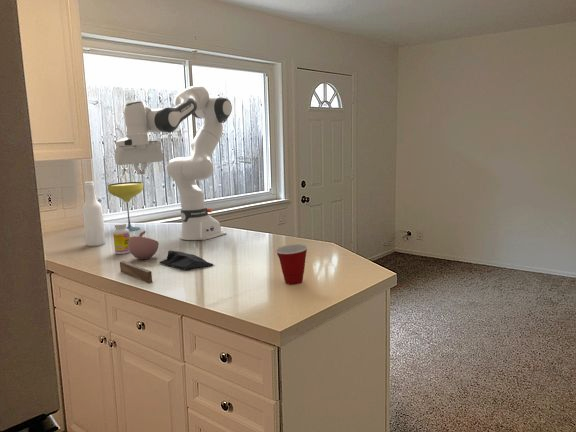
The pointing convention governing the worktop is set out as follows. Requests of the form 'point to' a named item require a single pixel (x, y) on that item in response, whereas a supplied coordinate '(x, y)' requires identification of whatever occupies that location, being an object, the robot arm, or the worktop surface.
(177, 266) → the dark slate chunk
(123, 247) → the supplement bottle
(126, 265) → the brown wooden bar
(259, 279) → the worktop surface
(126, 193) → the cocktail glass
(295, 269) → the plastic cup
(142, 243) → the mortar and pestle
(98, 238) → the alcohol
